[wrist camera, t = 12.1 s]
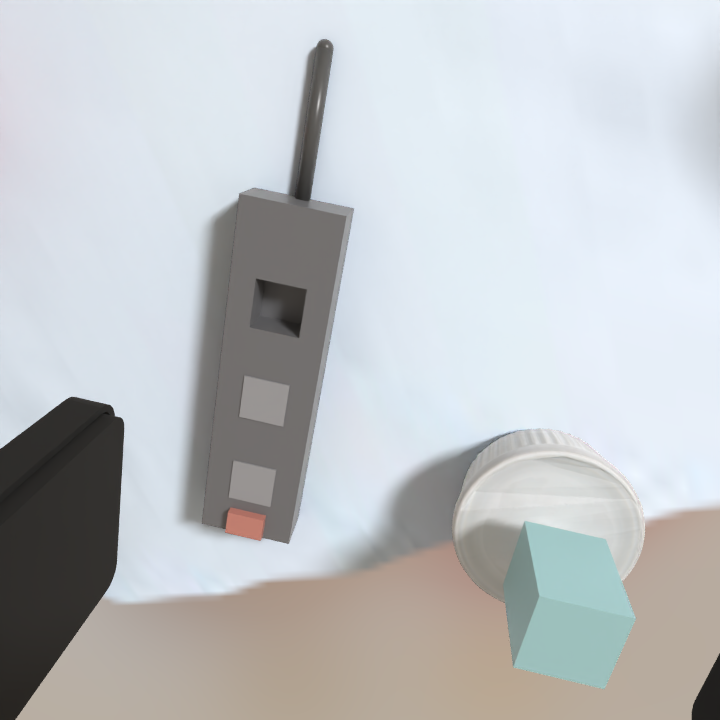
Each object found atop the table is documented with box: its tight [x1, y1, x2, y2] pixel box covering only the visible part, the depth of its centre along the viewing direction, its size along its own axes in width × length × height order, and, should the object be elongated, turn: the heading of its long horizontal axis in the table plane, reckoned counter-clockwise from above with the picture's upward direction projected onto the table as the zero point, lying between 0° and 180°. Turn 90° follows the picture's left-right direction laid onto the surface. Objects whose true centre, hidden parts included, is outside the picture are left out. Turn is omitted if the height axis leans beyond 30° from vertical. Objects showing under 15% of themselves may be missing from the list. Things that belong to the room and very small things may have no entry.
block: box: [503, 521, 636, 689], centre depth 34 cm, size 4×4×8 cm
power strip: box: [202, 39, 354, 544], centre depth 39 cm, size 30×6×4 cm, turn 169°
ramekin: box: [452, 429, 645, 603], centre depth 41 cm, size 11×11×5 cm
